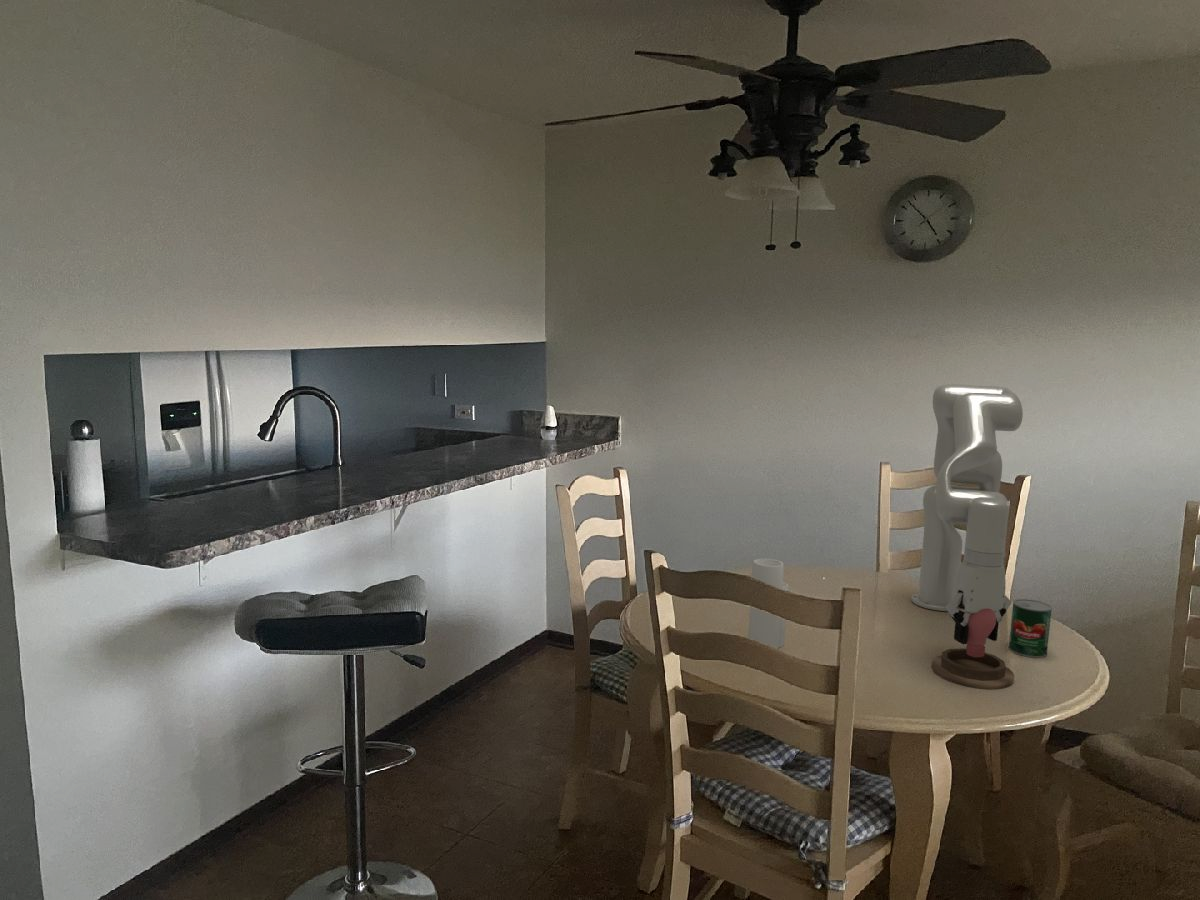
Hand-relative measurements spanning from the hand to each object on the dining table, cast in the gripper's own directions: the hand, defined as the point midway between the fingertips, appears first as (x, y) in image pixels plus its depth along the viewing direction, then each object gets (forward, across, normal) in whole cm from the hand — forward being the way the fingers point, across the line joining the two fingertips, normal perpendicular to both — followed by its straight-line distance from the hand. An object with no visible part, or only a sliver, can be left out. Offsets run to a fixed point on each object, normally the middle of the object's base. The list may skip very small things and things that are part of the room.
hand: (975, 639), depth 182 cm
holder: (+7, 0, 0) cm, 7 cm away
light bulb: (+4, 0, 0) cm, 4 cm away
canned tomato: (+8, -22, -7) cm, 24 cm away
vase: (+8, +36, -24) cm, 44 cm away
